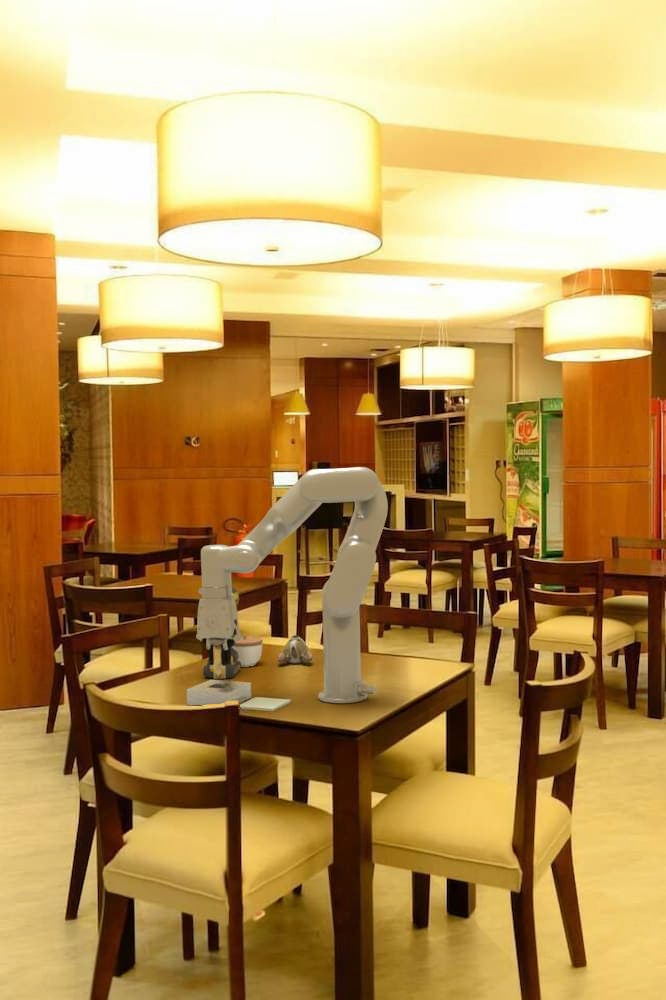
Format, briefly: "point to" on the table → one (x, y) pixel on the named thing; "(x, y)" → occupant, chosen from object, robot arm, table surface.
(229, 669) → the cordless drill
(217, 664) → the metal bolt
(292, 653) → the ceramic sculpture
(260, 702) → the mat
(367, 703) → the table surface
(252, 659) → the lidded jar
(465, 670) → the table surface
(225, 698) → the plate
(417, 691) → the table surface
